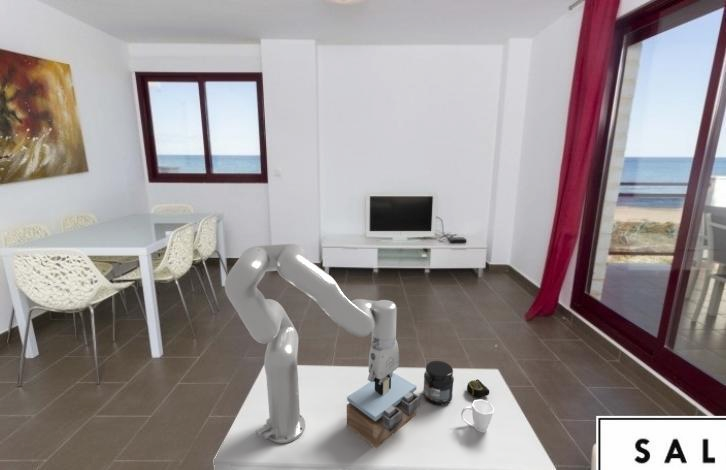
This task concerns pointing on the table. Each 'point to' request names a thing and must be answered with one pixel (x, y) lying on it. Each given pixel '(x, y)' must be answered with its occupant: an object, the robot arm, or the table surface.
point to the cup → (480, 414)
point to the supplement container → (438, 383)
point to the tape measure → (477, 389)
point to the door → (382, 397)
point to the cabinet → (381, 421)
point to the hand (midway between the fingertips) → (382, 389)
